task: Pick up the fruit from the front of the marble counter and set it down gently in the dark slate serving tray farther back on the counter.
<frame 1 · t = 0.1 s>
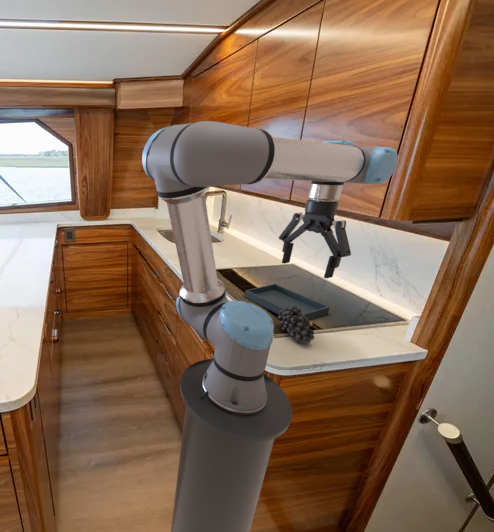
hand: (305, 269, 91), 22 cm above the counter, tool pointing down, fingers open, 13 cm apart
fruit: (293, 335, 98), on the counter
tray: (283, 305, 117), on the counter
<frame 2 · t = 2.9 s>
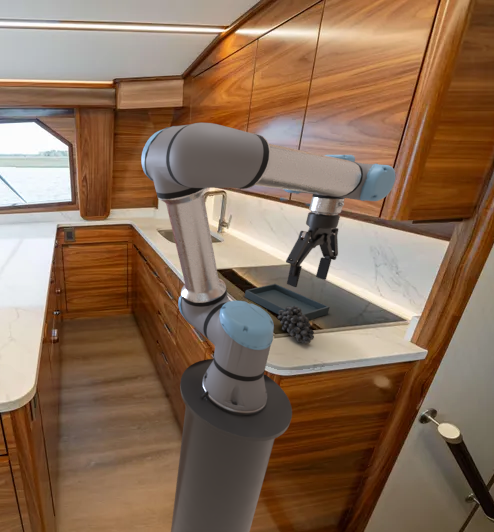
hand: (306, 281, 91), 19 cm above the counter, tool pointing down, fingers open, 13 cm apart
nothing on the counter moved.
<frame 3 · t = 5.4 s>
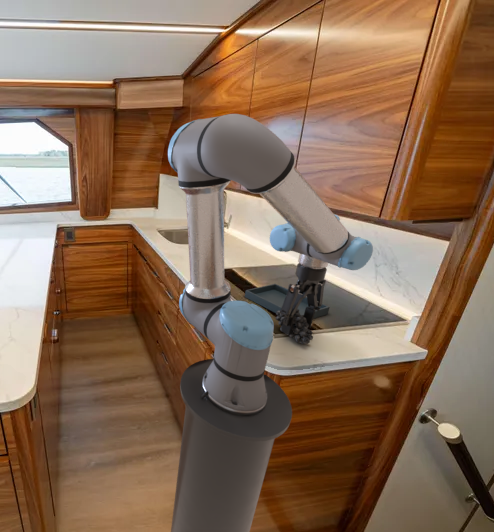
hand: (296, 329, 97), 2 cm above the counter, tool pointing down, fingers closed on fruit, 9 cm apart
fruit: (292, 336, 97), on the counter, touching gripper
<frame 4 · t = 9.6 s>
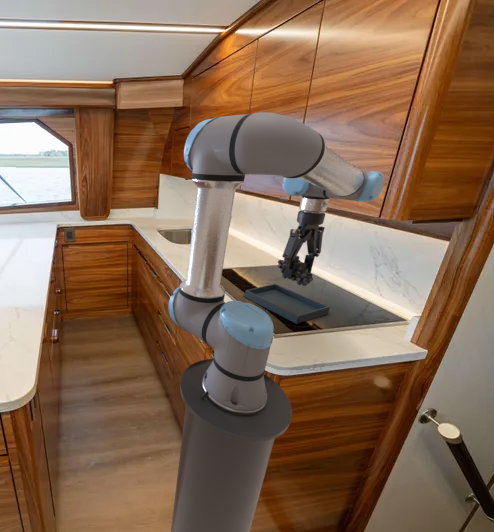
hand: (296, 274, 105), 16 cm above the counter, tool pointing down, fingers closed on fruit, 9 cm apart
fruit: (293, 281, 106), point 13 cm above the counter, touching gripper
when the fingers open (3 cm above the counter, at t = 13.6 s): fruit stays where it is, resting on tray.
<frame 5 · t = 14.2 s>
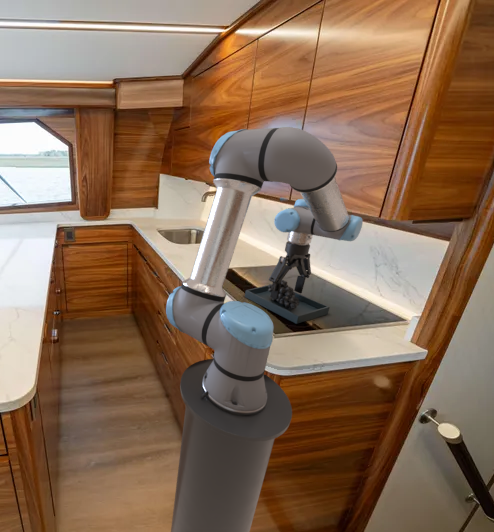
hand: (286, 295, 116), 4 cm above the counter, tool pointing down, fingers open, 13 cm apart
fruit: (281, 304, 117), resting on tray
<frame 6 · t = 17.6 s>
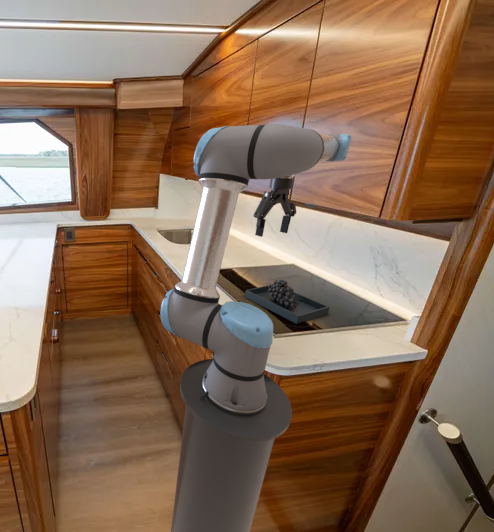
hand: (271, 234, 116), 27 cm above the counter, tool pointing down, fingers open, 13 cm apart
nothing on the counter moved.
at the end: fruit inside the target area in the tray (1.0 cm from its centre), point 0.4 cm above the tray's base; the gripper is holding nothing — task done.
